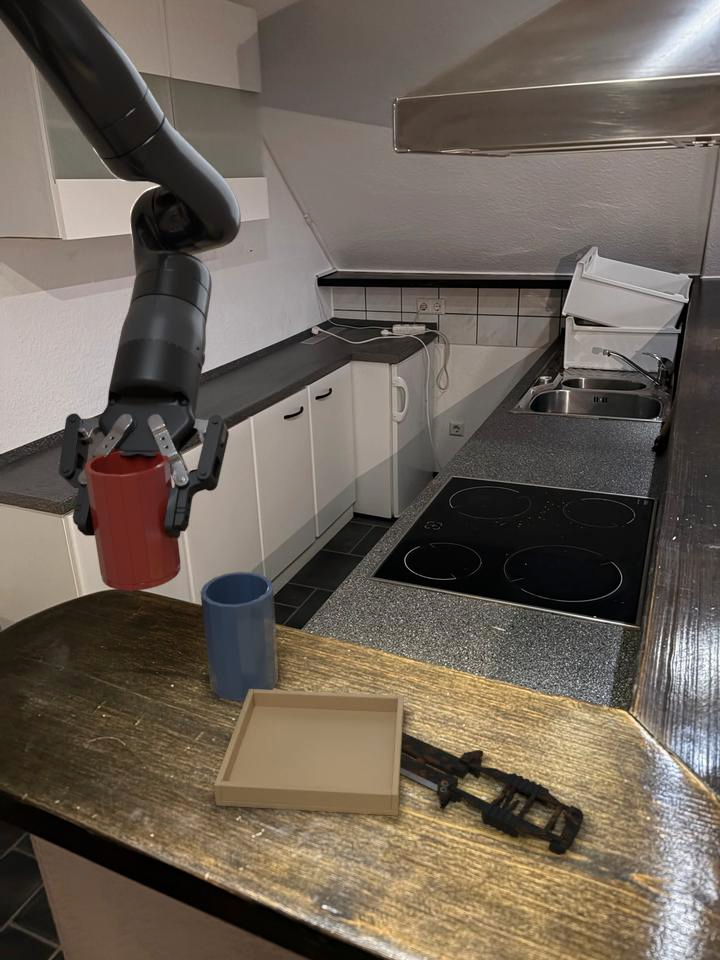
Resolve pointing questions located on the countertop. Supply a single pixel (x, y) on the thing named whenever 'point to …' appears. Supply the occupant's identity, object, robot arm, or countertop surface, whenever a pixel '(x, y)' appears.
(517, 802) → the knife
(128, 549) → the red spoon cup
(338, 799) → the tray
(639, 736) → the countertop surface
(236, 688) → the blue spoon cup
